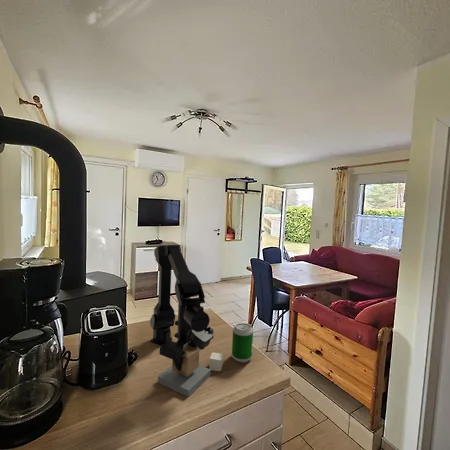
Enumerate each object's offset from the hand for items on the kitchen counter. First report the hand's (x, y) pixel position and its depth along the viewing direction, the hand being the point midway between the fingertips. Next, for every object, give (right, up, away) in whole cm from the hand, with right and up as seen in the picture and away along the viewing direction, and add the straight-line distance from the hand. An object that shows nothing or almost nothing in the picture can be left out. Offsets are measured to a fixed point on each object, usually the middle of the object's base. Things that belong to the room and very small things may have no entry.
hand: (185, 365), depth 86 cm
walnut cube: (0, -1, 0) cm, 1 cm away
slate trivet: (0, -5, 0) cm, 4 cm away
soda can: (+19, -5, +14) cm, 24 cm away
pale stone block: (+10, -5, +7) cm, 13 cm away
